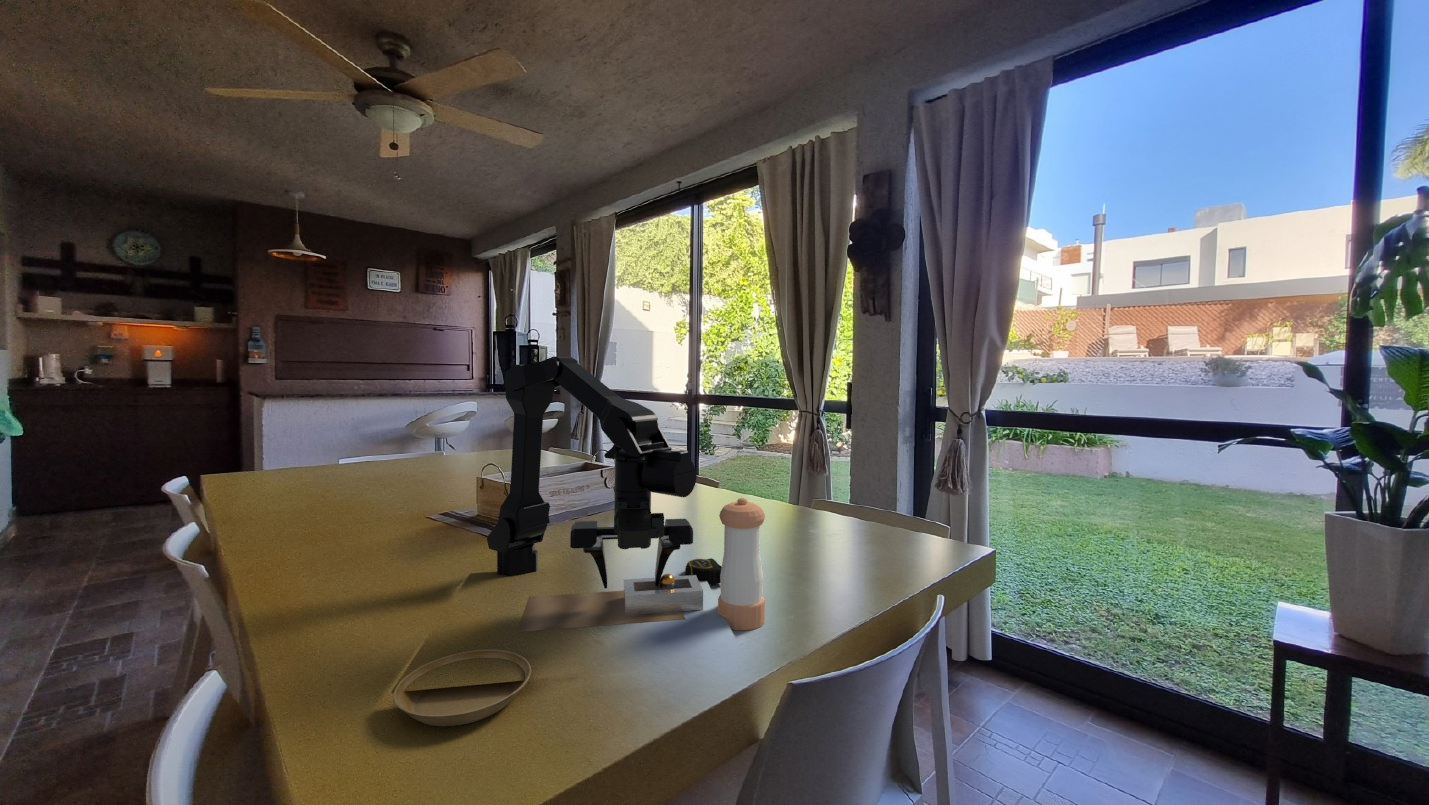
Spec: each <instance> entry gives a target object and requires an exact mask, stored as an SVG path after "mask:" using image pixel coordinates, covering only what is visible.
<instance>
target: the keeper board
mask: <svg viewBox="0 0 1429 805" xmlns="http://www.w3.org/2000/svg"><path fill="white" fill-rule="evenodd" d="M680 620H681V621H683V620H686V617H685V614H684V611H676V612H662V613H649V614H635V615H625V607H624V590H611V591H598V592H597V591H596V592H581V593H567V594H566V593H565V594H553V595H536V596H529V597H528V600H527V602H526V606H525V609H524V612H523V616H522V619H521V622H520V624H519V627H518V631H517V632H518V633H525V632H536V631H549V630H550V631H551V630H562V629H575V628H576V629H577V628H588V627H589V628H591V627H599V626H600V627H602V626H617V625H630V624H642V623H643V624H644V623H657V622H669V621H680Z"/></svg>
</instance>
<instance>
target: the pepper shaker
mask: <svg viewBox="0 0 1429 805" xmlns="http://www.w3.org/2000/svg"><path fill="white" fill-rule="evenodd" d="M718 517H719V520H720V521H721V523H722V525H724V531H723V532H724V535H723V536H724V537H723V538H724V539H723V540H724V541H723V542H724V543H723V556H722V563H721V567H722V568H721V574H720V583H719V585H720V587H719V588H720V594H719V595H718V598H717V611H718V612H717V613H718V614H719V615H720V616H721V617H723V618H725V620H726V622H727V624H728V626H729V628H730V630H734V631H735V630H736V631H751V630H755V629H759V628H760V627H761V626H763V625H764V624H765V622H766V620H765V619H766V599H765V597H764V595H763V592H764V590H763V589H764V588H763V587H764V573H763V567H762V560H761V552H760V551H761V548H760V547H761V544H760V542H761V541H760V540H761V539H760V538H761V537H760V536H761V530H760V528H761V526H762V525H763V523H764V521H765V518H766V515H765V511H764V509H763V508H762V507H761V506H760V505H758V504H756V503H754V502H750V501H749V500H748V499H747V498H745V497H739V498H738V499H737V500H736V501H734V502H733V501H732V502H730V503H728V504H725V505H724V506H723V507H722V509H721V510H720V512H719V515H718Z"/></svg>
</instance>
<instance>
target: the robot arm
mask: <svg viewBox="0 0 1429 805" xmlns="http://www.w3.org/2000/svg"><path fill="white" fill-rule="evenodd" d="M559 387H562V389H564V390H565V391H566V392H567V393H569V394H570V395H571V396H572V397H573V398H575V400H577V401H578V402H579V403H580V404H581V405H583V406H584V407H585V408H586V409H588V410H589V411H590V412H591V413H592V414H593V415H594V416H596V418H597V420H598V421H599V425H600V429H601V431H602V432H603V433H604V434H605V436H606V437H607V438H608V440H610V442H611V443H612V444H613V445H612V447H611V448H610V449H609V450H607V451H606V452H605V453H604V456H603V457H604V458H605V459H611V460H614V489H613V490H614V494H613V495H614V497H613V498H614V500H613V502H614V505H613V507H614V508H613V512H614V513H613V526H602V527H601V526H598V520H590V521H589V520H584V521H583V520H582V521H575V522H574V523H573V524H572V526H571V529H570V535H569V536H570V539H569V540H570V541H569V542H570V544H569V546H570V548H571V549H582V550H583V553H585V554H590V556H591V557H592V558H593V559H594V560H593V561H594V562H595V565H596V566H597V569H598V573H599V575H600V578H601V582H602V585H603V587H604V589H608V572H607V571H608V569H607V563H606V553H605V546H604V541H605V540H617V547H618V548H619V549H620V550H629V549H641V550H645V549H649V548H650V547H651V545H652V544H651V542H652V539H658V543H657V554H656V561H655V568H654V569H655V570H654V578H655V586H658V585H659V582H660V579H661V577H662V576H663V573H664V570H665V567H666V565H667V562H668V560H669V558H670V556H671V555H672V553H673V552H674V551H678V550H680V549H681V547H682V545H683V546H685V545H687V546H688V545H693V544H694V528H693V527H692V524H691V523H690V521H689V520H688V519H687V518H665V514H664V512H652V510H651V509H652V493H654V494H661V495H665V496H672V497H678V498H687V497H688V496H690V495H691V493H692V492H693V491H694V488H695V486H696V483H697V477H698V476H697V471H696V467H695V465H694V463H693V461H692V459H691V460H690V459H689V451H688V450H682V449H681V450H673V447H672V446H671V444H670V442H669V441H668V439H667V437H666V436H665V433H664V432H663V430H662V428H661V427H660V425H659V423H658V420H659V419H658V416H657V415H656V413H655V412H654V411H653V410H652V409H650V408H648V407H646V406H644V405H642V404H640V403H638V402H635V401H632V400H628V399H625V398H623V397H621V396H619V395H618V394H617V393H615V391H613V390H612V389H610V388H609V387H608V386H607V385H606V384H605V383H603V382H602V381H601V380H599V379H598V378H597V377H595V376H594V375H593V374H592V373H591V372H590V371H588V370H587V369H585V368H584V367H583V366H582V365H581V364H580V363H579V361H578V360H577V359H576V358H573V357H572V356H551V357H548V358H547V359H544V360H541V361H536V362H532V363H527V364H514V365H512V366H510V368H509V369H508V370H507V371H506V372H505V375H504V389H505V390H504V391H505V400H506V402H507V403H508V405H509V406H510V408H511V410H512V412H513V415H514V416H513V429H512V430H513V433H512V452H511V468H510V469H511V470H510V488H509V489H510V490H509V493H508V494H507V496H506V498H505V499H504V501H503V502H502V504H501V505H500V508H499V513H498V519H497V523H496V524H495V525H494V527H493V528H492V530H491V531H490V533H489V534H488V535H487V536H486V542H487V546H488V549H489V550H491V551H496V564H497V565H496V570H497V572H496V575H498V576H499V575H503V576H506V577H507V576H508V577H517V576H522V575H526V574H532V573H536V572H537V570H538V569H539V561H538V560H539V556H538V555H539V551H538V549H535V544H538V543H542V542H543V539H544V535H545V532H546V530H547V528H548V524H550V522H551V521H550V509H551V504H550V503H549V501H548V502H547V501H544V499H543V497H542V495H541V494H540V476H541V461H542V460H541V459H542V458H541V456H542V444H543V443H542V441H543V425H544V415H545V413H546V411H547V409H548V408H549V406H550V405H551V404H552V401H553V400H554V395H555V389H557V388H559Z"/></svg>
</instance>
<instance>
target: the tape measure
mask: <svg viewBox="0 0 1429 805" xmlns="http://www.w3.org/2000/svg"><path fill="white" fill-rule="evenodd" d="M721 568H722V565H720V563H718V562H717V560H715V559H714V558H712V557H710V558H695V559H692V560H689V561H688V562H687V563H686V565H685V570H684V572H685V573H684V576H689V575H696V576H697V579H698V581H699V582H700V581H701V582H707V584H708V586H713V585H718V584H720V574H721Z"/></svg>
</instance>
